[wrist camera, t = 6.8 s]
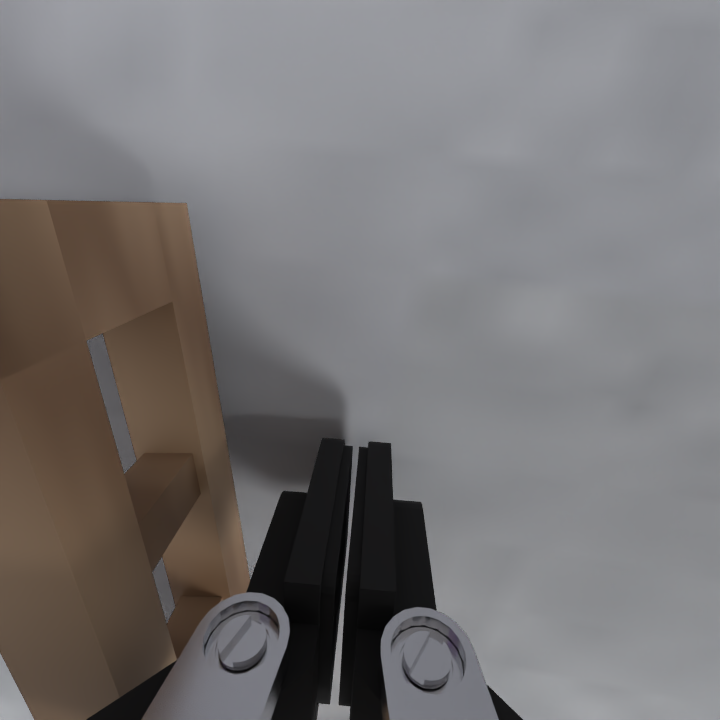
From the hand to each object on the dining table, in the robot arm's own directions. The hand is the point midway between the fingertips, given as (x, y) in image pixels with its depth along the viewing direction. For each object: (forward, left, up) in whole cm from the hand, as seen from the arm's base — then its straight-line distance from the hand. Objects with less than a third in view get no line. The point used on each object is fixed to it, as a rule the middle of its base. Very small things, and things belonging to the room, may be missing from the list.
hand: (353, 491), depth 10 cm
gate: (+4, -1, 0) cm, 4 cm away
